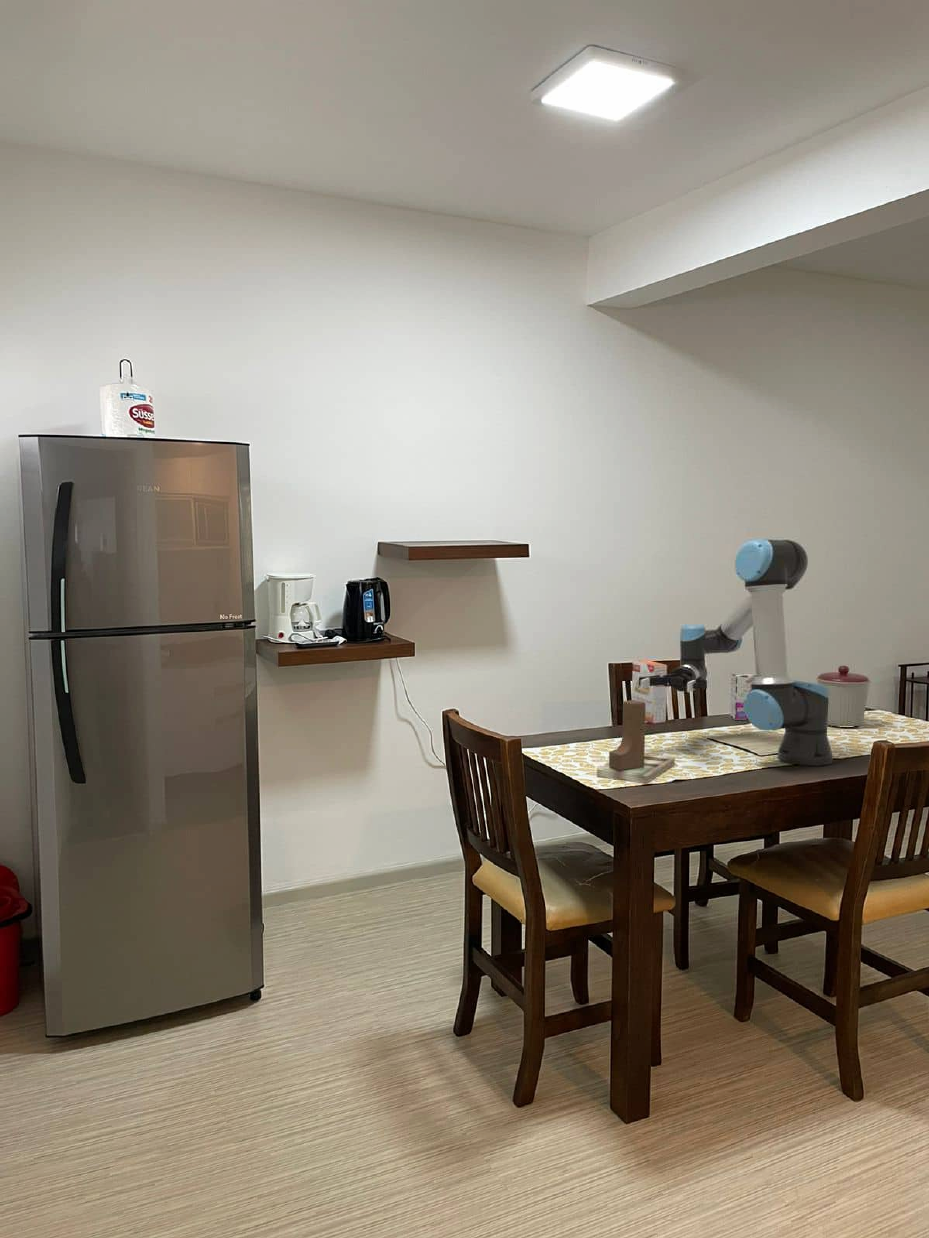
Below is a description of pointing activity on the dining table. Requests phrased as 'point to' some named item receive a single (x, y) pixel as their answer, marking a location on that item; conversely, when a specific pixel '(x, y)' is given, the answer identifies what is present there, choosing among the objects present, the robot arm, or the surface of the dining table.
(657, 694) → the cracker box
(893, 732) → the dining table surface
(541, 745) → the dining table surface
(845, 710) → the canister
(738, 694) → the candy bar box
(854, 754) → the dining table surface
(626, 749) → the wooden block
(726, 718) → the dining table surface
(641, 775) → the board
